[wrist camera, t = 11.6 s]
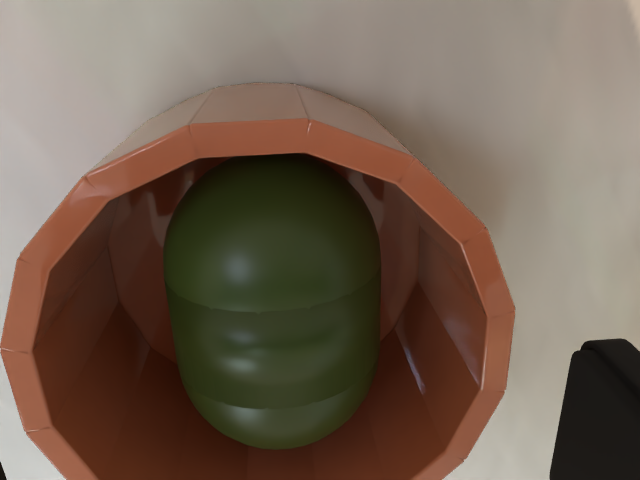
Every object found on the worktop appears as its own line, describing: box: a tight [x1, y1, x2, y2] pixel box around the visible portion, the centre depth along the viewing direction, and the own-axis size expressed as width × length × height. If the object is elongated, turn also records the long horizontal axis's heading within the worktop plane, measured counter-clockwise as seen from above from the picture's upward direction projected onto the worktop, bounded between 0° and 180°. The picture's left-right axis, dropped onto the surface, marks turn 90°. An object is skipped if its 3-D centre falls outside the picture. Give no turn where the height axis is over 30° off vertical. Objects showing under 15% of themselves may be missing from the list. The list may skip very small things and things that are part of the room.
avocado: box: [163, 153, 381, 450], centre depth 14 cm, size 8×5×5 cm
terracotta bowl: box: [0, 83, 515, 480], centre depth 14 cm, size 10×10×6 cm
